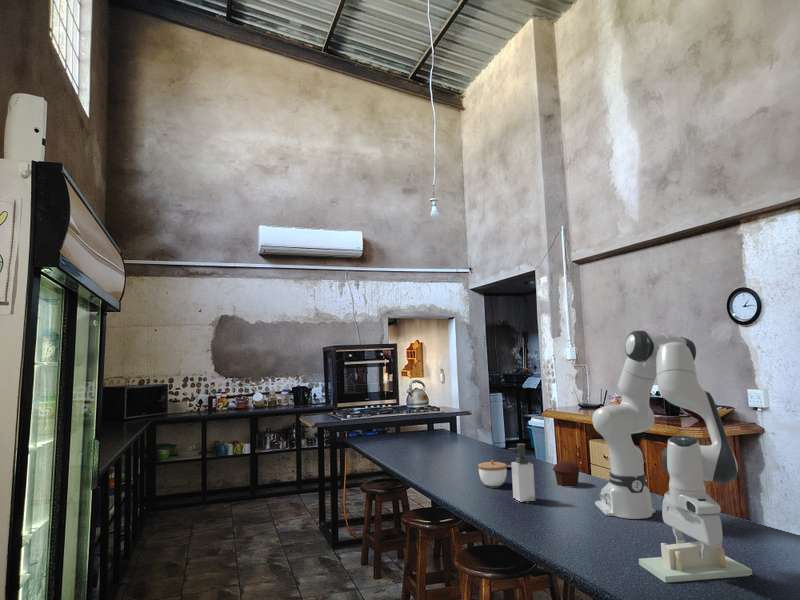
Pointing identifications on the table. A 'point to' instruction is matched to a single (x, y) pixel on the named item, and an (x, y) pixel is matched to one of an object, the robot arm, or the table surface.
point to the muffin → (566, 473)
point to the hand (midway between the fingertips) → (692, 551)
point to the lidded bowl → (492, 473)
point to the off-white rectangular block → (688, 555)
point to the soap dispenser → (522, 476)
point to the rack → (695, 568)
